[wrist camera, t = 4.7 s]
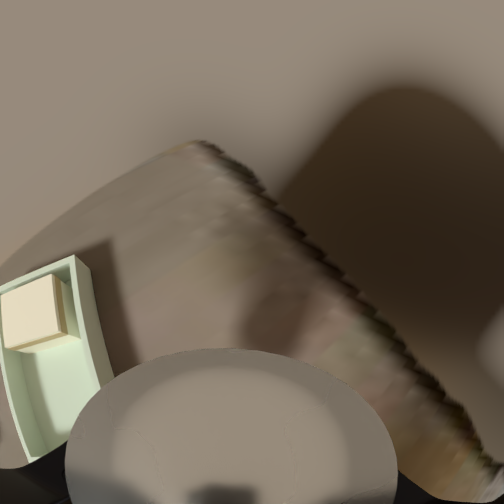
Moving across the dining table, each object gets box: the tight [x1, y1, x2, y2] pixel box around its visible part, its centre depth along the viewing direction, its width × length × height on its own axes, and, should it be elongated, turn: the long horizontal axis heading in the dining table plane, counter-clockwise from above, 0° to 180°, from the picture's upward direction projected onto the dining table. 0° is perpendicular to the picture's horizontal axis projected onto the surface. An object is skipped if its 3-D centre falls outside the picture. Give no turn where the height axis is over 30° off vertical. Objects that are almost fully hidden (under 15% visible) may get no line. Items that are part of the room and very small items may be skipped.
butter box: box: [1, 274, 81, 354], centre depth 19 cm, size 5×7×4 cm
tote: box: [0, 255, 115, 463], centre depth 18 cm, size 17×11×4 cm, turn 22°
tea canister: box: [65, 348, 398, 504], centre depth 9 cm, size 6×6×13 cm
